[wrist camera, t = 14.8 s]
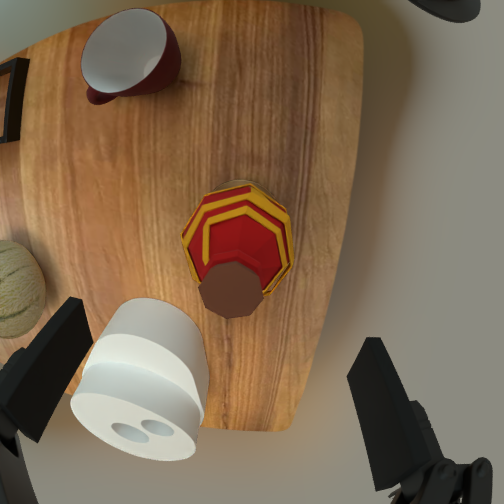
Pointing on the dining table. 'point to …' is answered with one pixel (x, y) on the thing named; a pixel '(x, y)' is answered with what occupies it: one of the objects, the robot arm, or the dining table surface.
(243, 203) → the potion bottle
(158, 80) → the mug
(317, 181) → the dining table surface
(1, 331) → the cantaloupe
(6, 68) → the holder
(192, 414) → the white stepped block
